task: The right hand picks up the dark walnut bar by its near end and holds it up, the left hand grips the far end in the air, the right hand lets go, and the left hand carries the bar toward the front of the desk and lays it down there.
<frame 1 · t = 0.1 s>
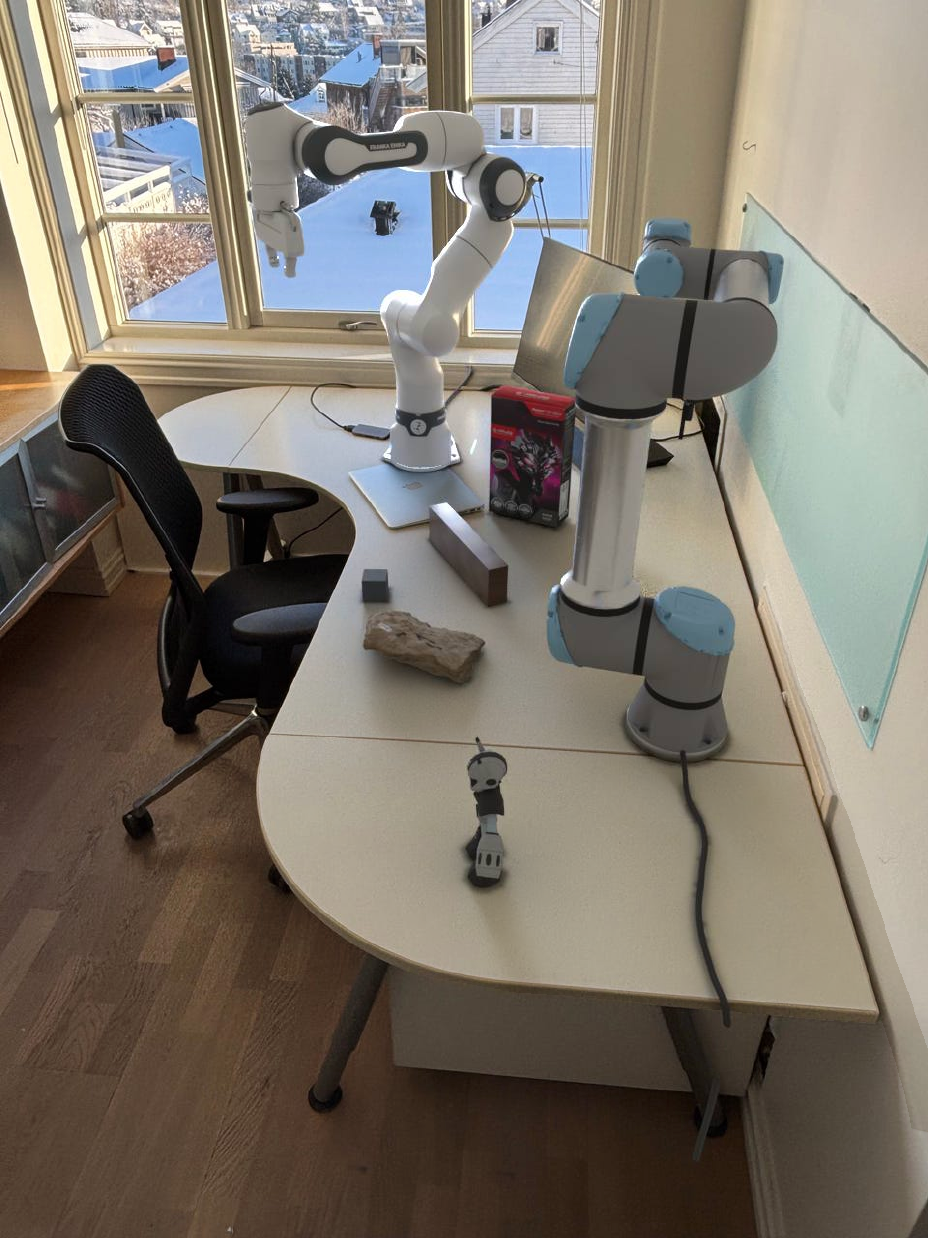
left hand: (282, 271, 187), 48 cm above the table, fingers open, 8 cm apart
right hand: (643, 432, 170), 28 cm above the table, fingers open, 13 cm apart
walnut bar: (466, 569, 183), on the table
slate cube: (375, 595, 175), on the table
graphics card box: (527, 515, 203), on the table
stone: (418, 658, 158), on the table
robot: (484, 863, 121), on the table
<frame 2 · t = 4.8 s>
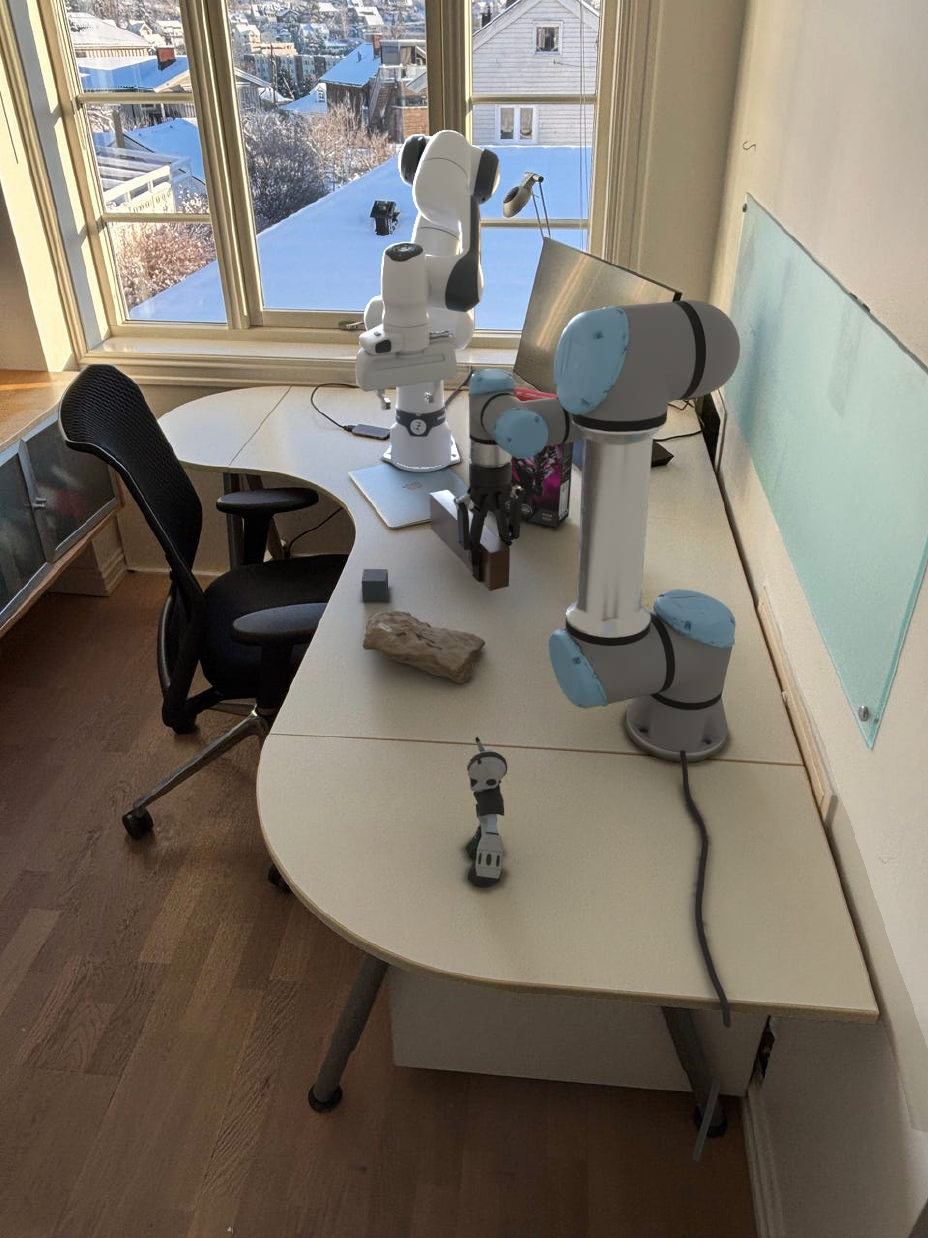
left hand: (408, 405, 183), 27 cm above the table, fingers open, 8 cm apart
right hand: (488, 575, 173), 4 cm above the table, fingers closed on walnut bar, 4 cm apart
walnut bar: (467, 555, 181), point 3 cm above the table, touching right hand
everything else where it was.
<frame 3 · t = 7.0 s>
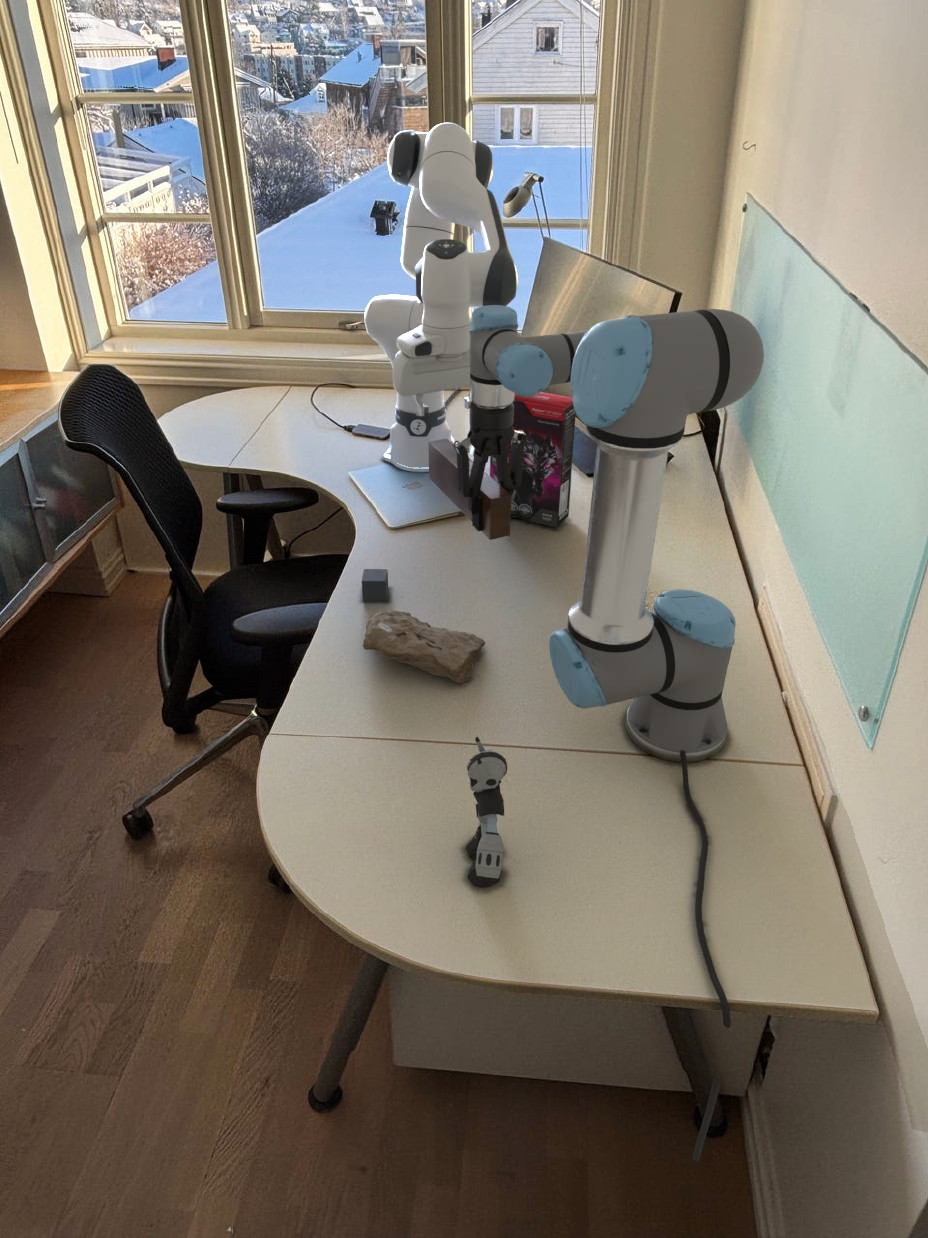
left hand: (446, 411, 174), 30 cm above the table, fingers open, 8 cm apart
right hand: (488, 525, 168), 15 cm above the table, fingers closed on walnut bar, 4 cm apart
walnut bar: (467, 505, 175), point 14 cm above the table, touching right hand
everything else where it was.
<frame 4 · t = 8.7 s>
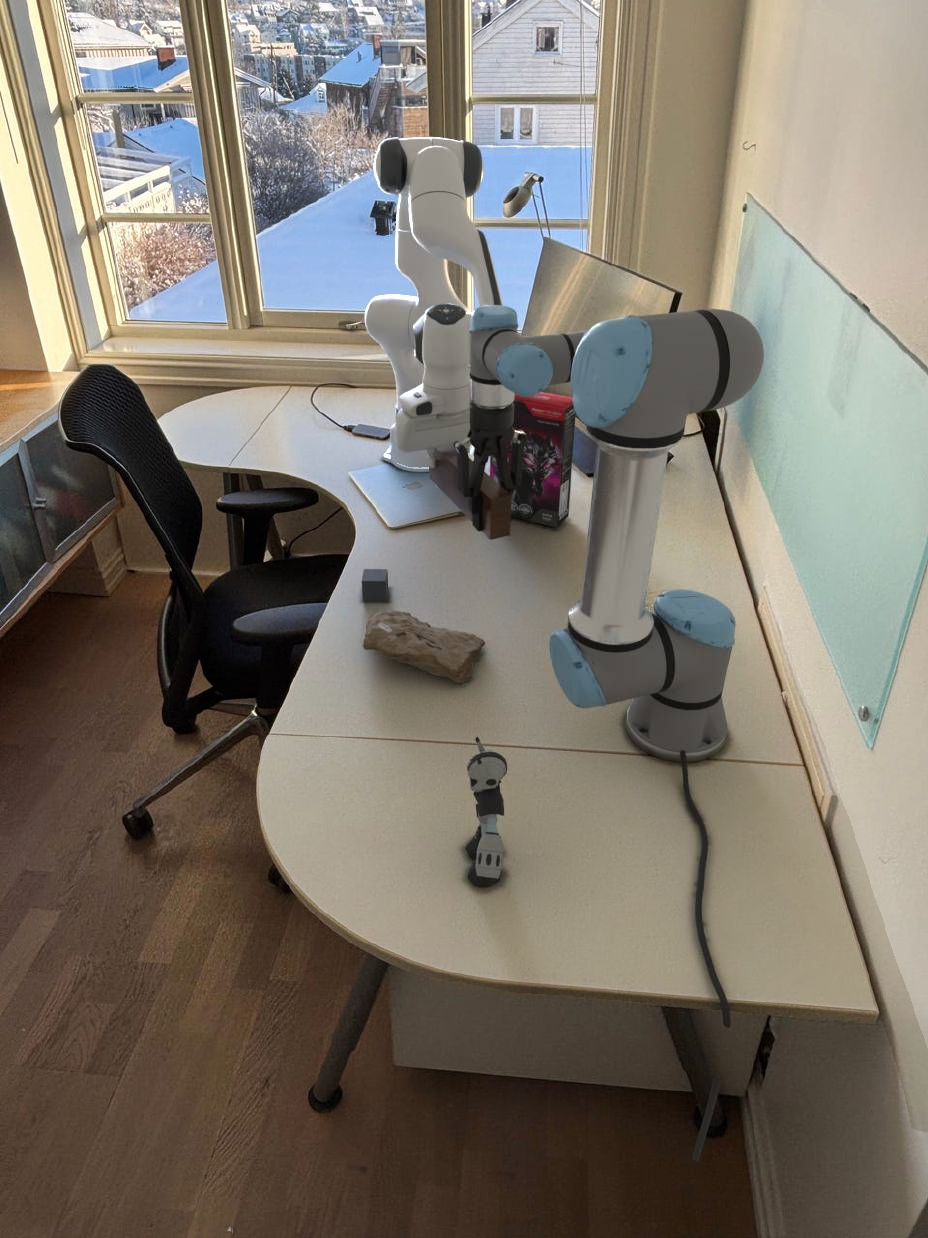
left hand: (446, 464, 180), 19 cm above the table, fingers closed on walnut bar, 4 cm apart
right hand: (488, 525, 168), 15 cm above the table, fingers closed on walnut bar, 4 cm apart
walnut bar: (467, 505, 175), point 14 cm above the table, touching right hand, left hand
everything else where it was.
when the right hand's fingers open (15 cm above the table, at t = 9.6 s): walnut bar stays where it is, held by the left hand.
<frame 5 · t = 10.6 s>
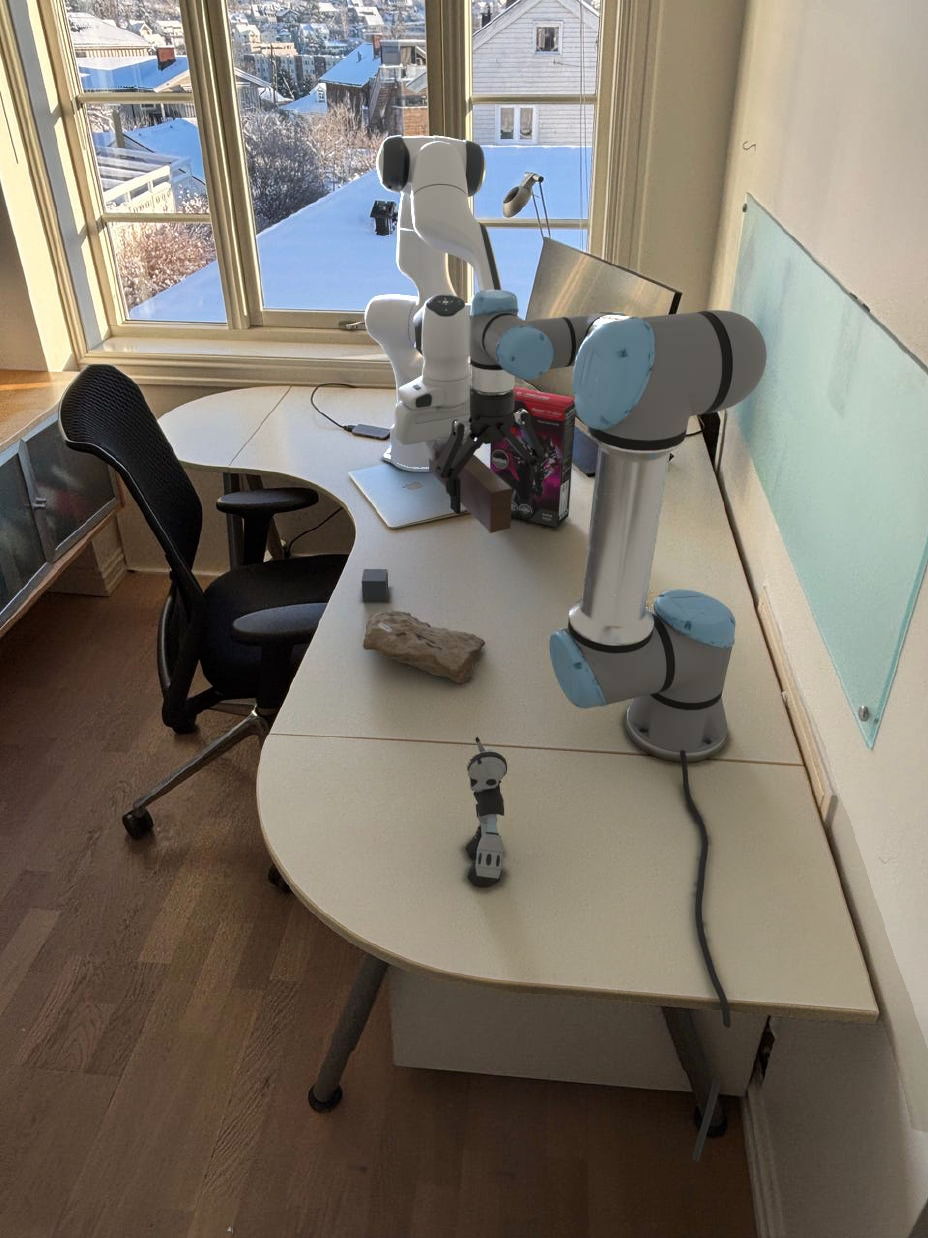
left hand: (446, 456, 179), 20 cm above the table, fingers closed on walnut bar, 4 cm apart
right hand: (490, 503, 165), 19 cm above the table, fingers open, 13 cm apart
walnut bar: (467, 498, 175), point 16 cm above the table, touching left hand
everything else where it was.
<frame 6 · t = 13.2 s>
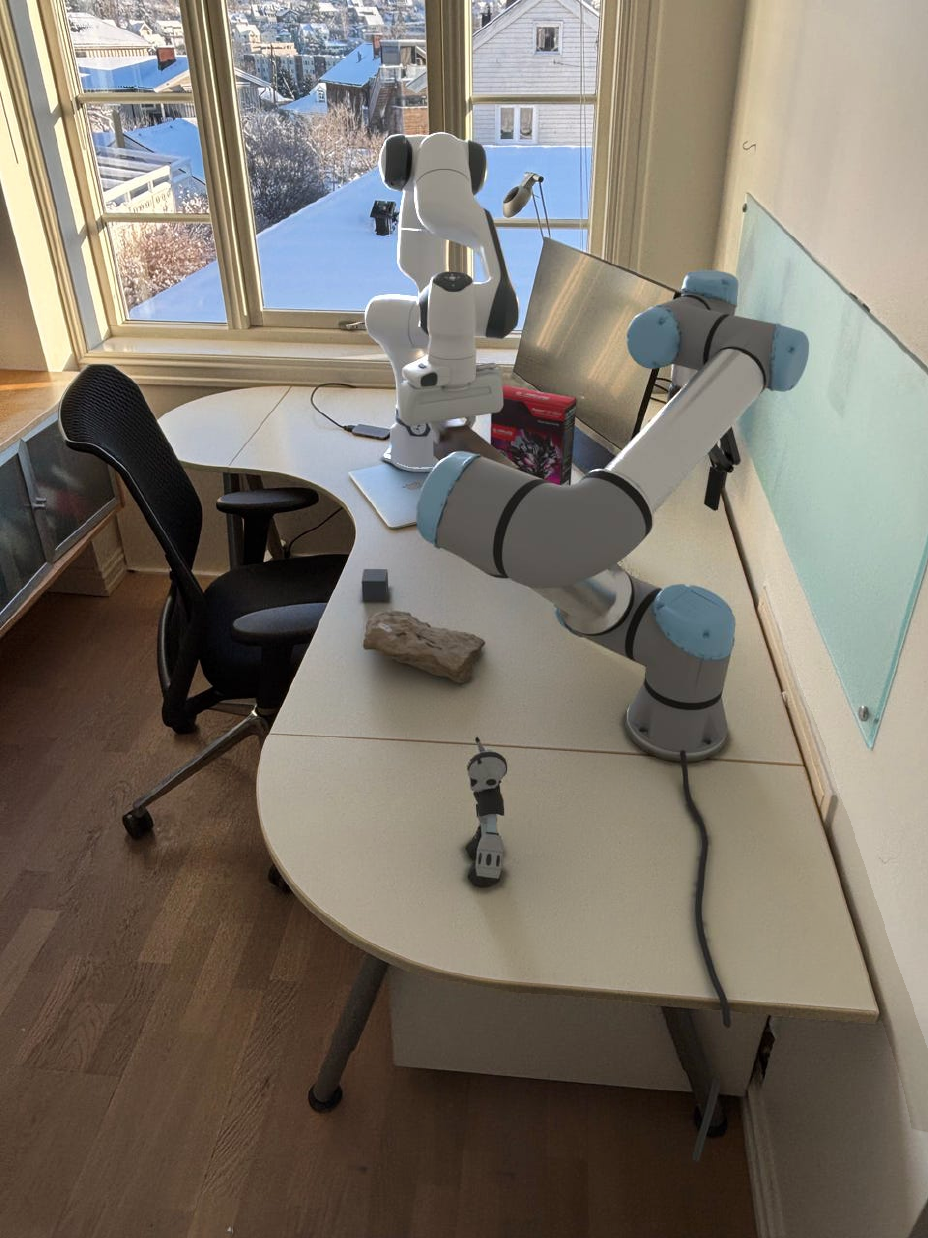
left hand: (451, 439, 175), 25 cm above the table, fingers closed on walnut bar, 4 cm apart
right hand: (675, 515, 146), 27 cm above the table, fingers open, 13 cm apart
walnut bar: (472, 481, 170), point 20 cm above the table, touching left hand
everything else where it was.
when the left hand's fingers open (5 cm above the table, at t = 18.1 s): walnut bar stays where it is, on the table.
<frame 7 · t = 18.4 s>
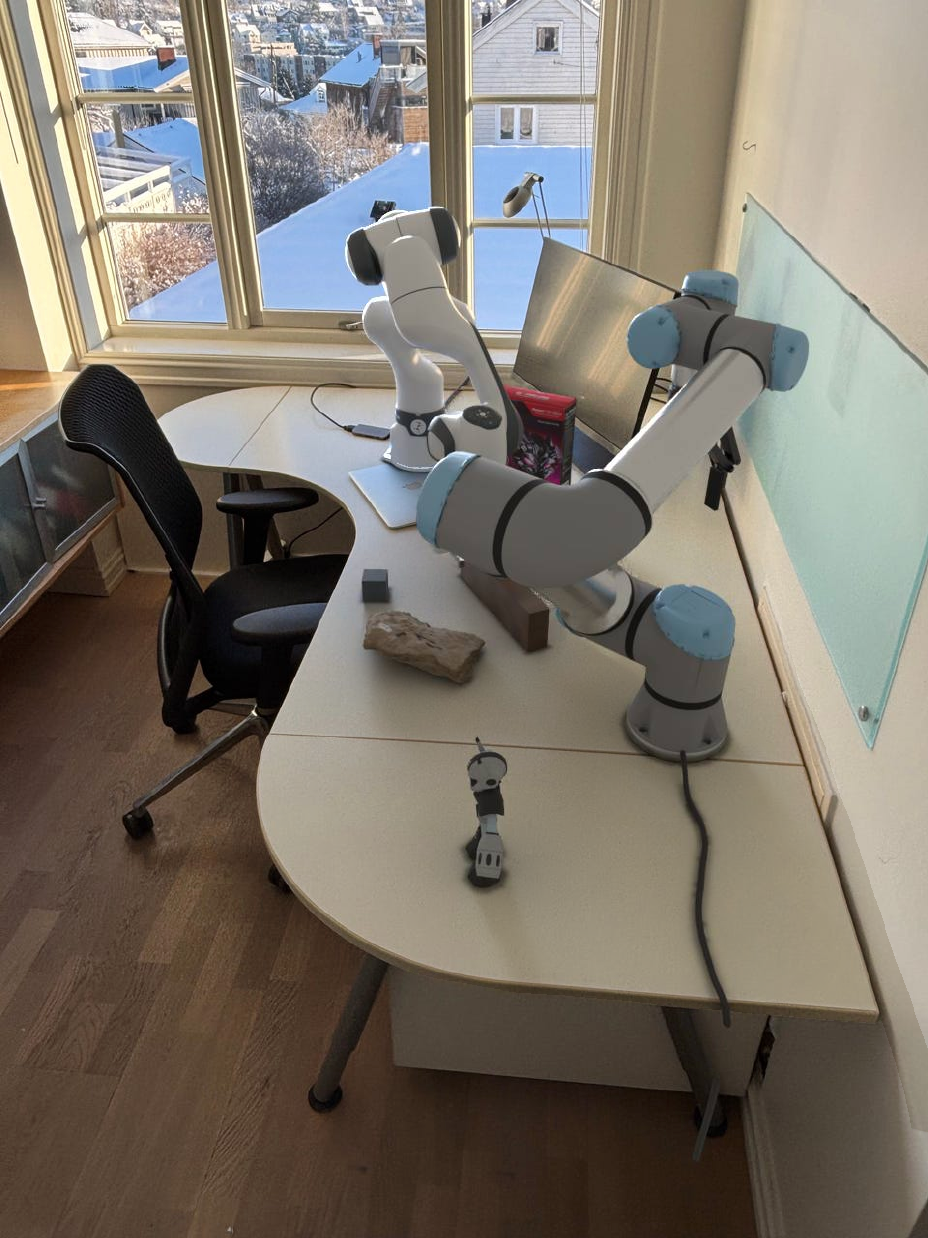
left hand: (479, 562, 176), 5 cm above the table, fingers open, 7 cm apart
right hand: (676, 515, 146), 27 cm above the table, fingers open, 13 cm apart
walnut bar: (501, 609, 171), on the table
everything else where it was.
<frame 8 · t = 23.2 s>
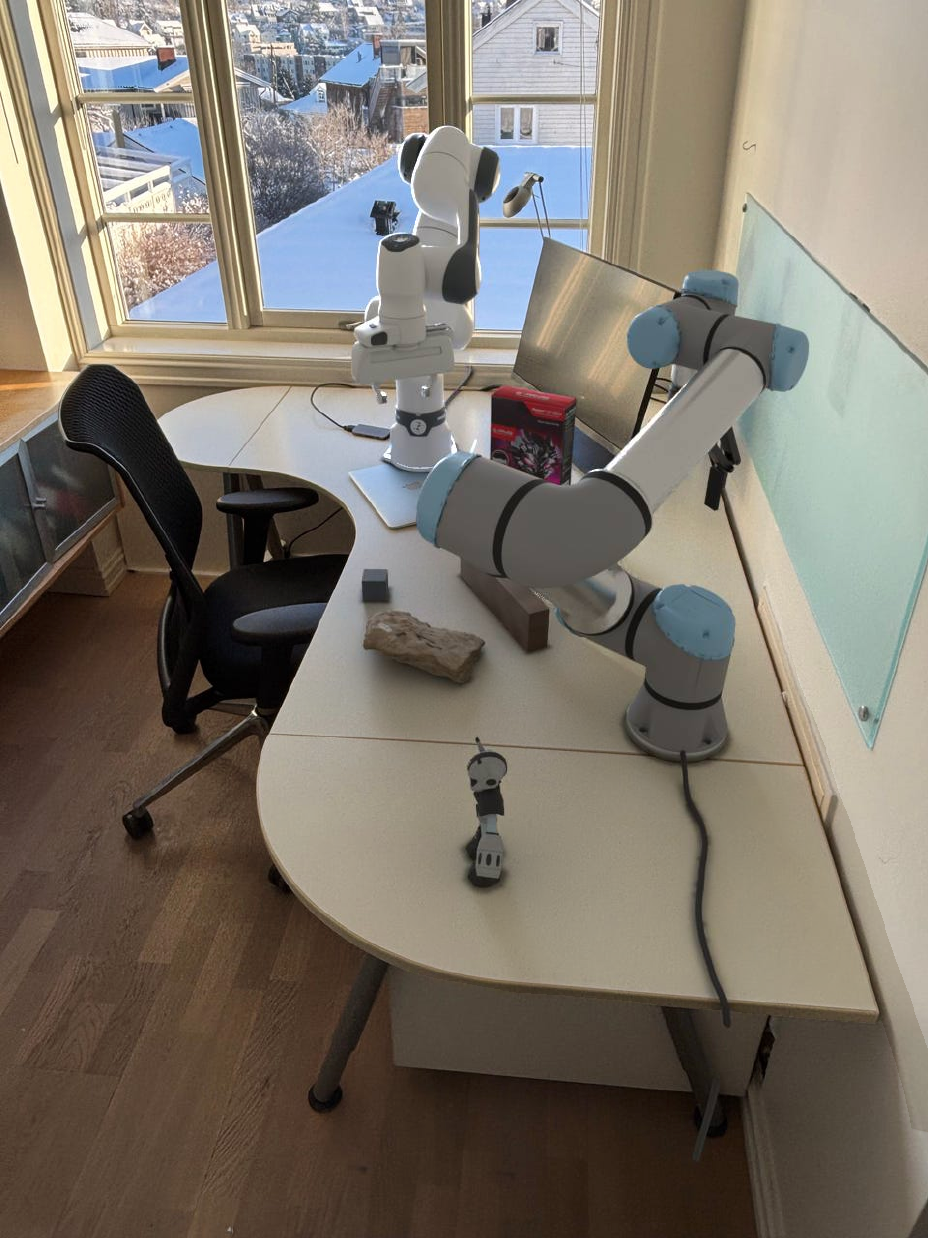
left hand: (404, 399, 180), 29 cm above the table, fingers open, 8 cm apart
right hand: (676, 515, 146), 27 cm above the table, fingers open, 13 cm apart
nothing on the table moved.
at the end: walnut bar inside the target area (0.2 cm from its centre), on the table; both hands held the walnut bar at the same time; the left hand is holding nothing; the right hand is holding nothing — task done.
